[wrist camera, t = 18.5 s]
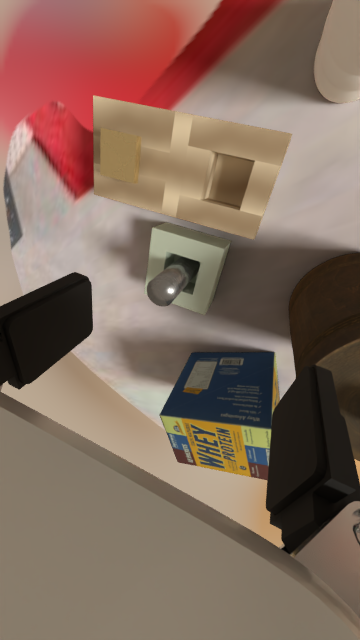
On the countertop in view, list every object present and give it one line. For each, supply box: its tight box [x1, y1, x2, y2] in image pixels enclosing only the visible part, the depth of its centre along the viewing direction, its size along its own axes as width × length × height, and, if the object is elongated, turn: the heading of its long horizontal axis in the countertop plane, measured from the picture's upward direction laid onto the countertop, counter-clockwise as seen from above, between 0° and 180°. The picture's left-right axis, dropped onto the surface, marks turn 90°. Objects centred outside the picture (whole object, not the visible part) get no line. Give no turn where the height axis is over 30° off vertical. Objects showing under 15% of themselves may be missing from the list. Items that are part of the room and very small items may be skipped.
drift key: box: [100, 128, 141, 184], centre depth 28 cm, size 4×4×5 cm
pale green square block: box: [144, 222, 231, 315], centre depth 35 cm, size 10×10×5 cm
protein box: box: [160, 352, 280, 480], centre depth 39 cm, size 10×15×16 cm
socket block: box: [93, 96, 292, 240], centre depth 29 cm, size 10×22×5 cm, turn 79°
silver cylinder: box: [147, 256, 200, 306], centre depth 32 cm, size 4×4×11 cm
